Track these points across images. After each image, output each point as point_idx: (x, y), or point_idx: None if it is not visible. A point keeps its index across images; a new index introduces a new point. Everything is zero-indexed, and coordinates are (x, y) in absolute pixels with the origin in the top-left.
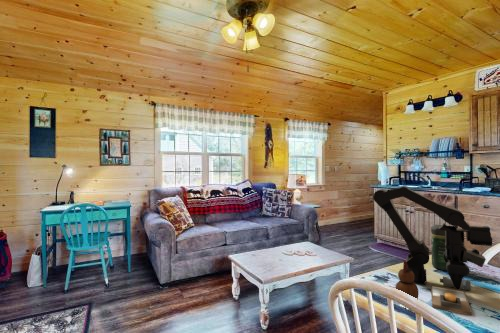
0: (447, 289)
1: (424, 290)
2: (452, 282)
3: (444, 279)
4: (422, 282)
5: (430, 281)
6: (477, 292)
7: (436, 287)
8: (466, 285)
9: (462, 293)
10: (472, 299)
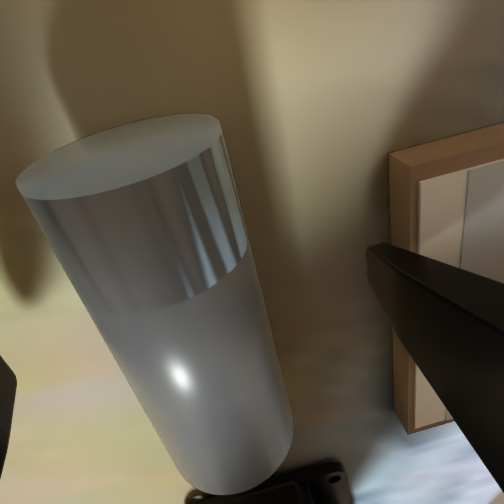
0: None
1: (455, 422)
2: (276, 360)
3: (282, 444)
4: (324, 487)
5: None
6: (148, 5)
7: (429, 401)
8: (234, 195)
9: (497, 183)
10: (501, 47)
